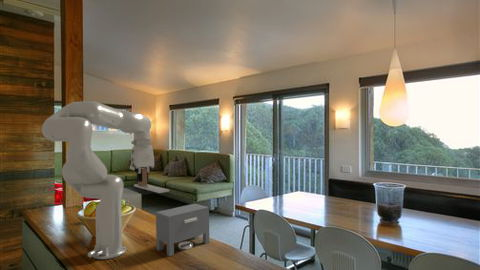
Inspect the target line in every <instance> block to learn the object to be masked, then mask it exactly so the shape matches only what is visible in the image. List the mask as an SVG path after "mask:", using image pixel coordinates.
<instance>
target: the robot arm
mask: <svg viewBox="0 0 480 270" xmlns="http://www.w3.org/2000/svg"><path fill="white" fill-rule="evenodd" d="M93 125H95V126H100V127H103V128H106V129H111V130H120V132H122V133H125V134H133V140H132V141H131V145H133V146H132V148H131V150H132V151H131V154H130V155H131V156H130V166H129V169H130V170H132V171H134V172H135V173H136V180H137V182H142V174H141V168H146V169H147V182H148V181H149V173H150V171H151V170H152V169H154V168H155V167H156V166H155V157H154V156H155V154H154V148H153V146H152V145H151V128H152V121H151V119H150V118H149V117H148V116H147V115H144V114H141V113H139V112H133V111H127V110H124V109H119V108H114V107H111V106H108V105H106V104H103V103H100V102H98V101H95V100H93V101H91V100H86V101H73V102H70V103H67V105H65V106H63V107H62V108H60V109H59V110H58V111H56V112H55V113H53V114H52V115H50V116H49V117H47V119H46V120H45V121H44V122H43V124H42V127H41V132H42V134H43V136H44V138H46V139H47V140H48V141H50V142H68V147H67V151H66V155H65V158H66V162H65V163H64V164H63V166H62V169H61V175H62V178H63V180H64V182H66V184H67V185H68V186H70V187H71V188H72V189H73V190H74V191H75V192H76V193H77V194H79V195H80V196H82V197H83V198H86V199H98V200H99V199H100V200H99V202H98V204H97V206H96V209H95V245H94V249H93V250H90V251H89V252H88V253H87V257H88V258H93V259H96V260H109V259H115V258H117V257H120V256H122V255H123V254H125V253H126V252H127V247H126V246H125V245H123V234H122V233H123V231H122V230H123V228H122V220H123V219H122V198H123V193H124V186H125V185H124V184H125V183H124V181H123V179H122V178H121V177H120V176H118V175H115V174H108V168H107V167H106V165H105V164H104V162H103V161H101V159H100V158H99V157H98V156H97V154H96V153H95V152H94V151H93V149H92V146H91V145H92V144H91V143H92V136H93Z"/></svg>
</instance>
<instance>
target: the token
mask: <svg viewBox="0 0 480 270" xmlns="http://www.w3.org/2000/svg"><path fill="white" fill-rule="evenodd" d="M193 247H194V244H193V242H192V241H186V240H185V241H180V242H178V249H179V250H184V251H185V250H191V249H193Z"/></svg>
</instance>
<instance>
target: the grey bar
mask: <svg viewBox="0 0 480 270" xmlns="http://www.w3.org/2000/svg"><path fill="white" fill-rule="evenodd" d="M141 174H142V182H138V181H137V182H138V183H135V184H134V185H133V187H136V188H139V189H143V190H147V191H149V192H154V193H157V194H163V193H167V192H170V189H168V188H164V187H160V186H156V185H152V184H148V181H147V169H146V168H144V167H141Z"/></svg>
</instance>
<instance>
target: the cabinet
mask: <svg viewBox="0 0 480 270" xmlns="http://www.w3.org/2000/svg"><path fill="white" fill-rule="evenodd" d="M155 230H156V231H155V232H156V233H155V235H156V236H155V237H156V239H155V240H156V243H155V245H156V251H159V252H160V251H162V250H163V251H164V244H166V256H168V257H171V256H174V255H175V245H174V244H175V243H176V244H177V243H181V242H184V241H186V240H189V239H194V240H196V239H199V236H201V235H202V243H203V244H205V245H206V244H209V243H210V207H209V206H207V205H202V204H198V203H191V204H186V205H182V206H177V207H173V208H170V209H169V208H168V209H165V210H164V209H163V210H159V211H156V212H155Z"/></svg>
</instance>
